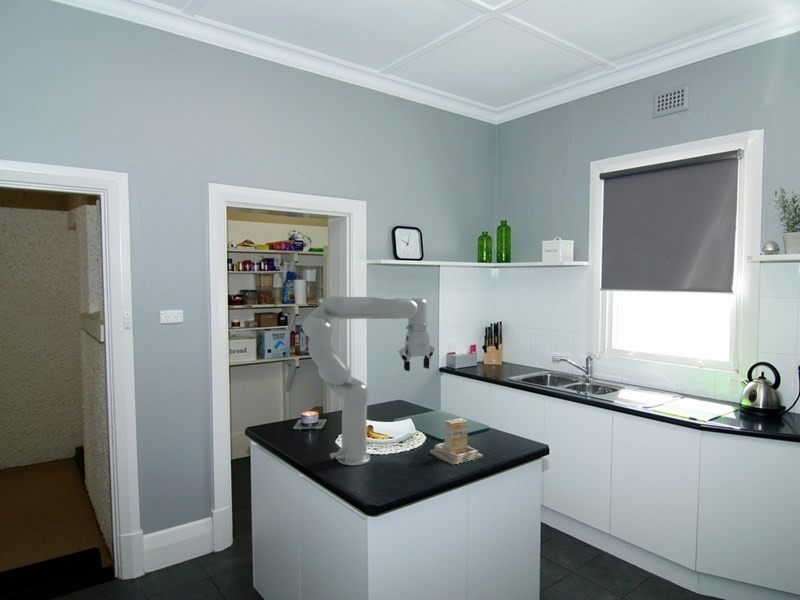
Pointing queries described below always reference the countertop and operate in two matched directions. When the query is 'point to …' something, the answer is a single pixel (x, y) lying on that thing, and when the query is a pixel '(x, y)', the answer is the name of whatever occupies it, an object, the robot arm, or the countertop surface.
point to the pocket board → (453, 457)
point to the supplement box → (456, 435)
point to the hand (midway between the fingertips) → (416, 369)
